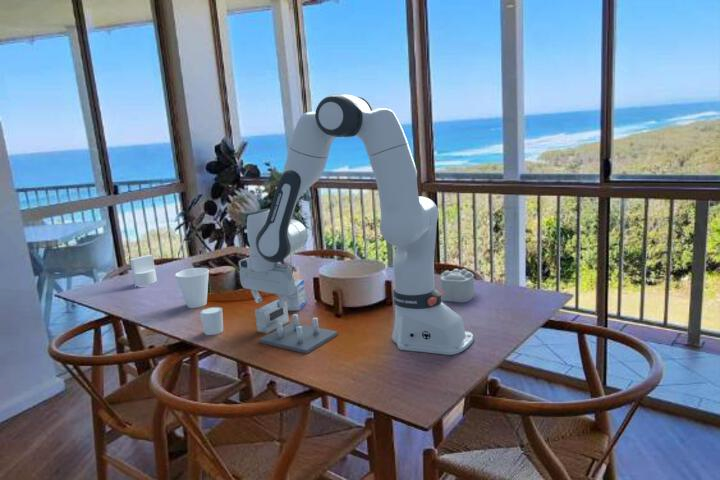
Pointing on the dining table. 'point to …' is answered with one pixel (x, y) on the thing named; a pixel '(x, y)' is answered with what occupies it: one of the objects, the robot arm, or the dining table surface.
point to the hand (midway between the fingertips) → (269, 304)
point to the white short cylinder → (212, 320)
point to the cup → (194, 286)
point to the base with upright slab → (143, 270)
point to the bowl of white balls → (457, 285)
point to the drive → (271, 316)
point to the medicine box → (297, 296)
